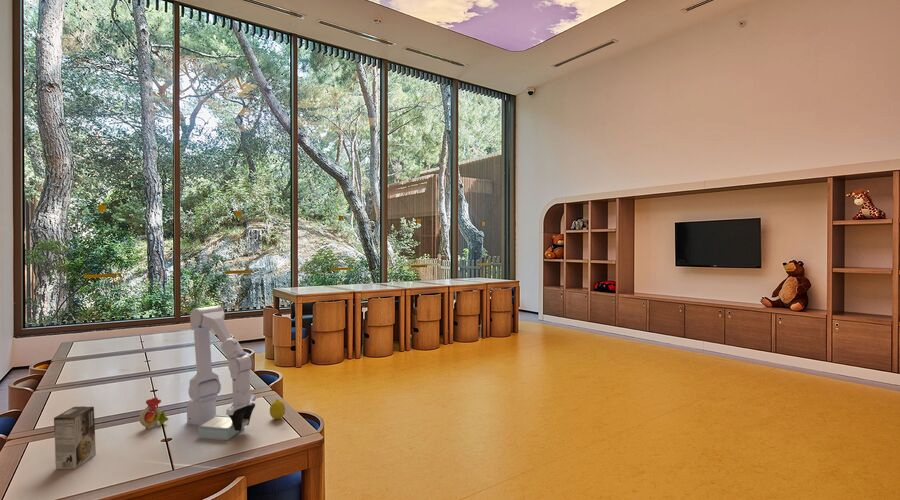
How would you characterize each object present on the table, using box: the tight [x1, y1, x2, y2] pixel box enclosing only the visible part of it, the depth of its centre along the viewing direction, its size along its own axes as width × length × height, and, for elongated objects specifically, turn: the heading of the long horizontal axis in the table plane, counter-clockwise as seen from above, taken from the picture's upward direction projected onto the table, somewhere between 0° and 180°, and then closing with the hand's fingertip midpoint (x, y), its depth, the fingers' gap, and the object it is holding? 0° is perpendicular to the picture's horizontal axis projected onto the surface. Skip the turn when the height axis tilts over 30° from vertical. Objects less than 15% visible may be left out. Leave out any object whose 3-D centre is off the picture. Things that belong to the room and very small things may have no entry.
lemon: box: [269, 399, 286, 420], centre depth 182 cm, size 6×6×8 cm
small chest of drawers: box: [200, 417, 250, 429], centre depth 169 cm, size 14×8×2 cm, turn 81°
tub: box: [197, 414, 245, 441], centre depth 169 cm, size 11×10×5 cm
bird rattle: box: [138, 396, 169, 430], centre depth 175 cm, size 6×11×9 cm
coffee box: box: [53, 406, 97, 470], centre depth 148 cm, size 9×6×16 cm
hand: (241, 427), depth 168 cm, fingers closed on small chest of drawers, 4 cm apart
